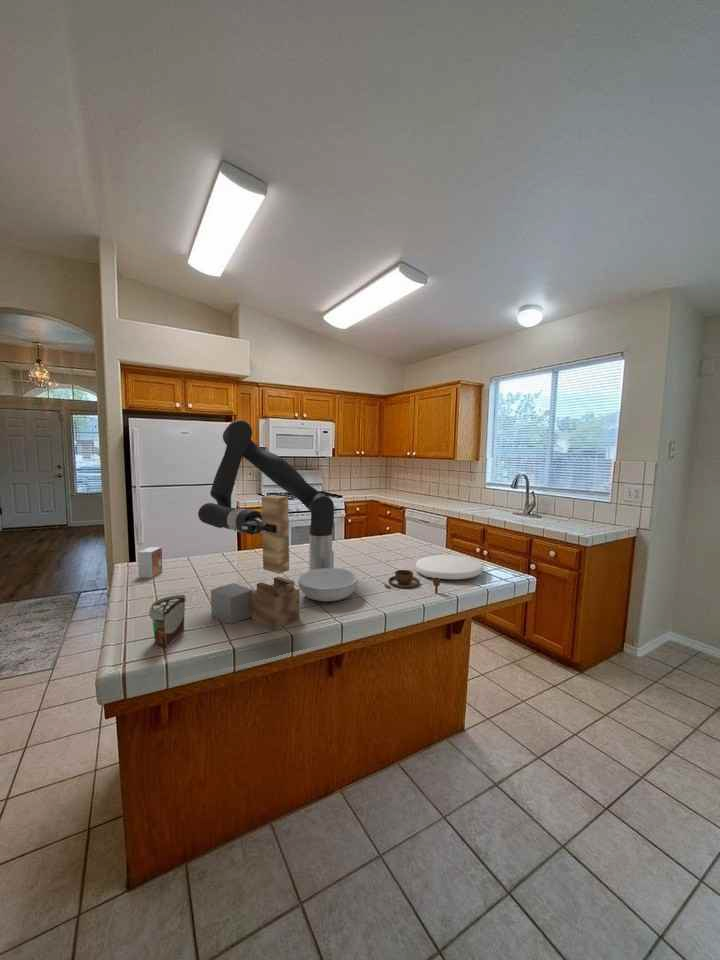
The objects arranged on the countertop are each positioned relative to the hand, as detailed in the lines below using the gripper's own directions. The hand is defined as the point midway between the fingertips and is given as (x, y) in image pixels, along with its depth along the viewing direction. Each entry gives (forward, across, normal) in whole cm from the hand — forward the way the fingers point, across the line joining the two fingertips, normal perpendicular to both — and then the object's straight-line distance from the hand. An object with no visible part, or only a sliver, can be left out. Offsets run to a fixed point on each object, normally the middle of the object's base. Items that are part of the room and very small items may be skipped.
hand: (281, 527), depth 113 cm
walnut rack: (-3, 0, +28) cm, 29 cm away
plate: (+20, +74, +30) cm, 83 cm away
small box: (-74, -3, +29) cm, 79 cm away
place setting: (+15, +50, +30) cm, 60 cm away
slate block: (-16, -6, +28) cm, 33 cm away
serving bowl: (-3, +24, +29) cm, 38 cm away
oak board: (-3, 0, +13) cm, 13 cm away
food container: (-18, -26, +28) cm, 43 cm away
